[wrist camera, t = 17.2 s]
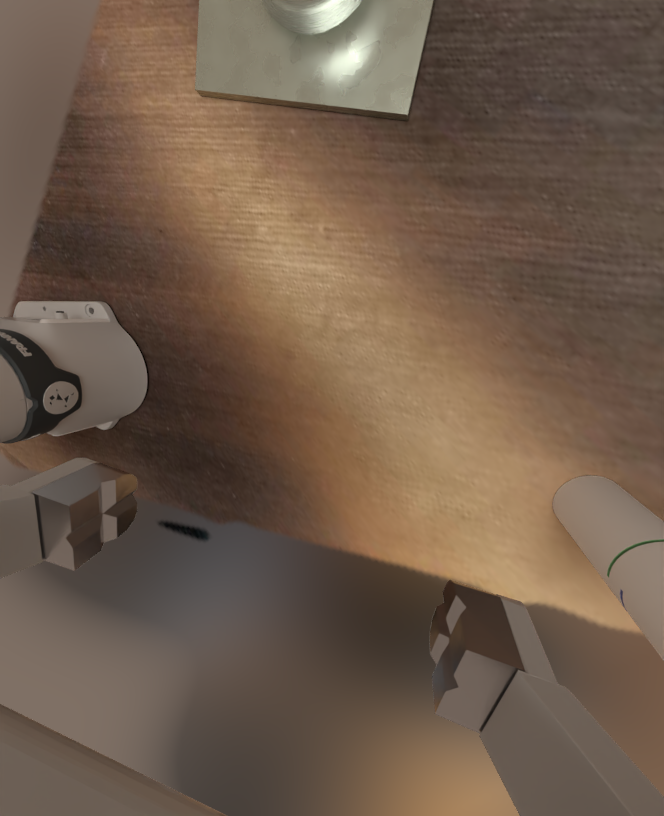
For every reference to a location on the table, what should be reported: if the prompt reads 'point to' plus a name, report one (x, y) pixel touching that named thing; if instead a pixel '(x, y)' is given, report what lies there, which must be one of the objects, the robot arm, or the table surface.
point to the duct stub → (314, 53)
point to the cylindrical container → (619, 546)
